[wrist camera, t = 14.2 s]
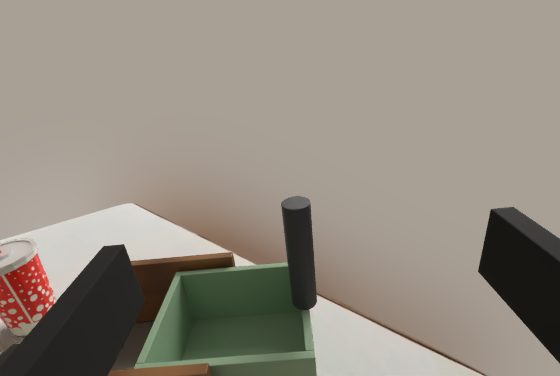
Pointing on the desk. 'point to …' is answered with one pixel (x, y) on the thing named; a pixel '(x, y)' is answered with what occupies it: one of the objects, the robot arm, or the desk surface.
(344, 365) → the desk surface
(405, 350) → the desk surface
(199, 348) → the green open box
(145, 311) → the wooden drawer casing
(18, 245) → the beverage cup
